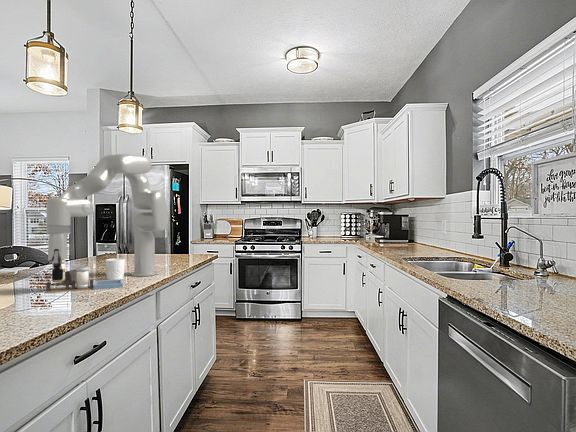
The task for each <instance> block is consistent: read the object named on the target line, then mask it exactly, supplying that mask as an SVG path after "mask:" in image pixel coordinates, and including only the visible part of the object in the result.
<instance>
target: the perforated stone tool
mask: <svg viewBox="0 0 576 432" xmlns="http://www.w3.org/2000/svg"><path fill="white" fill-rule="evenodd" d="M72 280H75V285H77V271H76V269H71V270H67V271H66V270H65V281H62V283H63V285H65V282H66V281H69V286H72Z"/></svg>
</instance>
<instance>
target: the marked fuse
mask: <svg viewBox="0 0 576 432" xmlns="http://www.w3.org/2000/svg"><path fill="white" fill-rule="evenodd" d="M58 261H61V259H58ZM58 263H60V262H58ZM51 265H52V266H51V267H52V270H53V260H52V261H51ZM62 269H63V279H62V280H52V279H51V282H52V283H61V282H63V281H65V272H66V259H64V260H63V261H62Z"/></svg>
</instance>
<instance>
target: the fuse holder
mask: <svg viewBox="0 0 576 432" xmlns="http://www.w3.org/2000/svg"><path fill="white" fill-rule="evenodd" d="M89 279H90V278H89ZM51 282H52V281H47V282H46V283H45V292H44V294H54V293H66V292H67V293H68V292H79V291H80V292H81V291H91V290H92V291H93V289H94V279H92V278H91V279H90V280H89V288H86V289H76V284H75V280H72V285H71V286H70V285H69V281H66V282H65V284H64V285H65V286H63V287H62V286H60V287H51Z"/></svg>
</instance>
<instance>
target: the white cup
mask: <svg viewBox="0 0 576 432" xmlns="http://www.w3.org/2000/svg"><path fill="white" fill-rule="evenodd" d="M125 265H126V259H125V258H121V257H120V258H116V257H115V258H108V259H107V258H106V259H105V276H106V280H121V279H124V277H125V276H124V275H125V269H126V268H125V267H126V266H125Z"/></svg>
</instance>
